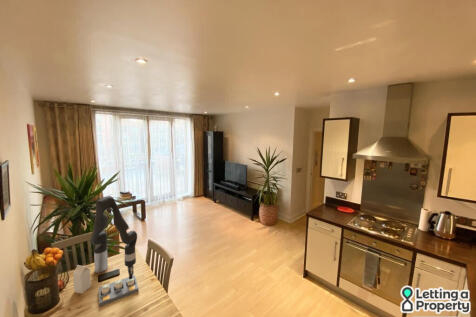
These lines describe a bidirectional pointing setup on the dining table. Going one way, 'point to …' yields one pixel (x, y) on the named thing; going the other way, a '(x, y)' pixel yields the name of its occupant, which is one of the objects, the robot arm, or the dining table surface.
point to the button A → (105, 289)
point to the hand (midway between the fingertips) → (130, 278)
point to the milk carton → (81, 279)
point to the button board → (117, 292)
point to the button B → (118, 284)
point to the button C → (130, 282)
